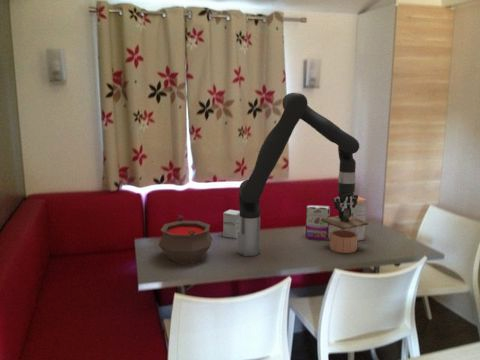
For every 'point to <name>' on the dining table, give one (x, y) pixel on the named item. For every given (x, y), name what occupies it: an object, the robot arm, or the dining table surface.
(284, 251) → the dining table surface
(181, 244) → the brown cooking pot
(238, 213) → the supplement box
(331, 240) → the terracotta bowl
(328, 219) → the walnut lid
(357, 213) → the cracker box
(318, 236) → the candy bar box
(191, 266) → the dining table surface
